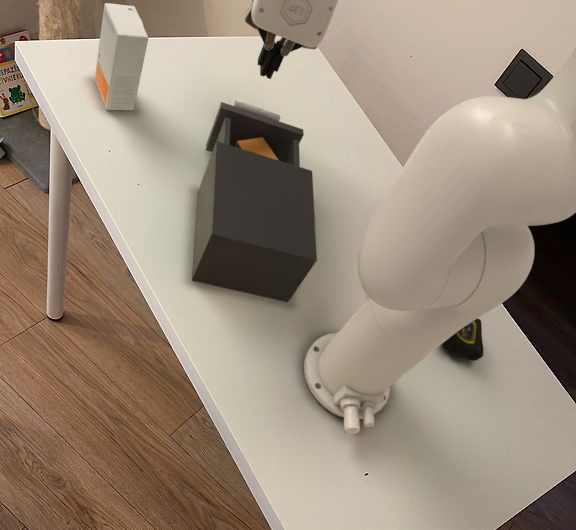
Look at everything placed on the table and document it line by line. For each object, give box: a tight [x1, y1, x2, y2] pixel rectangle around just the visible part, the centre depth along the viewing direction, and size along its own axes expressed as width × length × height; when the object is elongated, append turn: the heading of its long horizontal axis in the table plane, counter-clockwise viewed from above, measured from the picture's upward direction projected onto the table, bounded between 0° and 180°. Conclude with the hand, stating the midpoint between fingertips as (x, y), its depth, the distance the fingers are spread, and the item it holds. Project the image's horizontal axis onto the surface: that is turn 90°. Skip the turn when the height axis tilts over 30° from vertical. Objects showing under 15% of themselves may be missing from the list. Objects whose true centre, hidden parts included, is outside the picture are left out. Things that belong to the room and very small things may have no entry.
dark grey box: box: [205, 99, 305, 167], centre depth 85 cm, size 19×12×8 cm, turn 1°
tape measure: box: [441, 318, 484, 362], centre depth 90 cm, size 7×7×4 cm
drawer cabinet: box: [191, 141, 318, 303], centre depth 80 cm, size 16×14×10 cm
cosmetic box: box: [93, 2, 149, 111], centre depth 82 cm, size 6×4×12 cm
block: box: [235, 137, 278, 160], centre depth 85 cm, size 5×5×5 cm
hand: (265, 71), depth 87 cm, fingers closed
